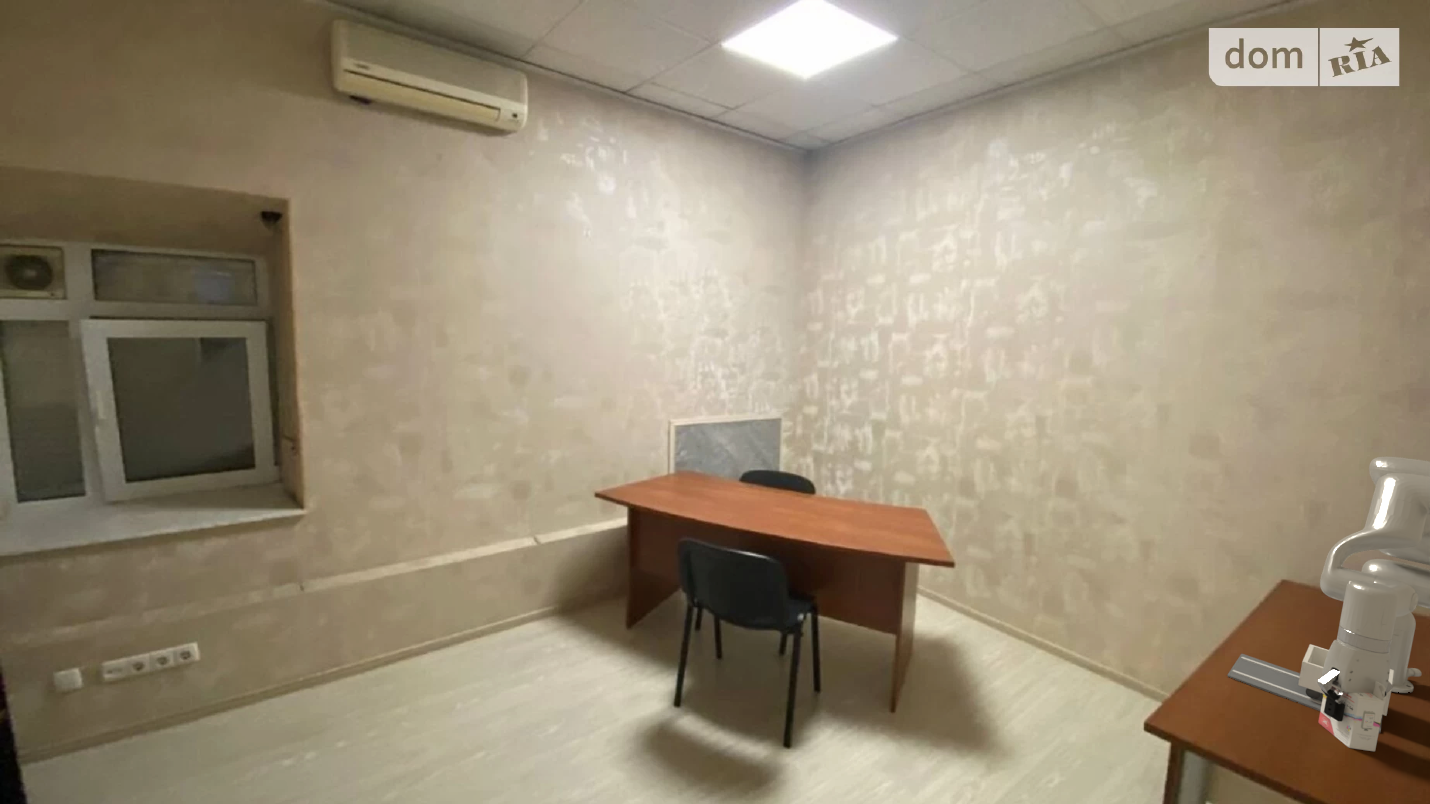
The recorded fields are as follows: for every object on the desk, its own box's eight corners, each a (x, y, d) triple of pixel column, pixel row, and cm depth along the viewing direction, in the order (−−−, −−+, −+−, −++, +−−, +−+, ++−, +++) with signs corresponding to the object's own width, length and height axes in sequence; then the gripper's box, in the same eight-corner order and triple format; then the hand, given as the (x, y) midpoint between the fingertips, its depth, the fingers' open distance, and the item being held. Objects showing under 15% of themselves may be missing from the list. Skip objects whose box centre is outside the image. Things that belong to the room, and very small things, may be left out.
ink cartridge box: (1316, 722, 132) (1327, 661, 130) (1342, 726, 131) (1353, 664, 129) (1348, 748, 123) (1360, 683, 122) (1376, 753, 122) (1389, 687, 121)
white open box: (1304, 675, 149) (1310, 644, 148) (1387, 703, 139) (1393, 670, 138) (1296, 694, 140) (1302, 661, 140) (1384, 725, 130) (1391, 690, 129)
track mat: (1241, 655, 160) (1241, 652, 160) (1384, 704, 140) (1384, 701, 140) (1226, 676, 149) (1227, 673, 149) (1380, 733, 129) (1380, 730, 129)
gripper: (1381, 632, 129) (1367, 707, 131) (1306, 629, 128) (1293, 705, 130) (1423, 650, 121) (1407, 730, 123) (1344, 648, 120) (1329, 728, 122)
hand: (1349, 717), depth 126 cm, fingers open, 6 cm apart
